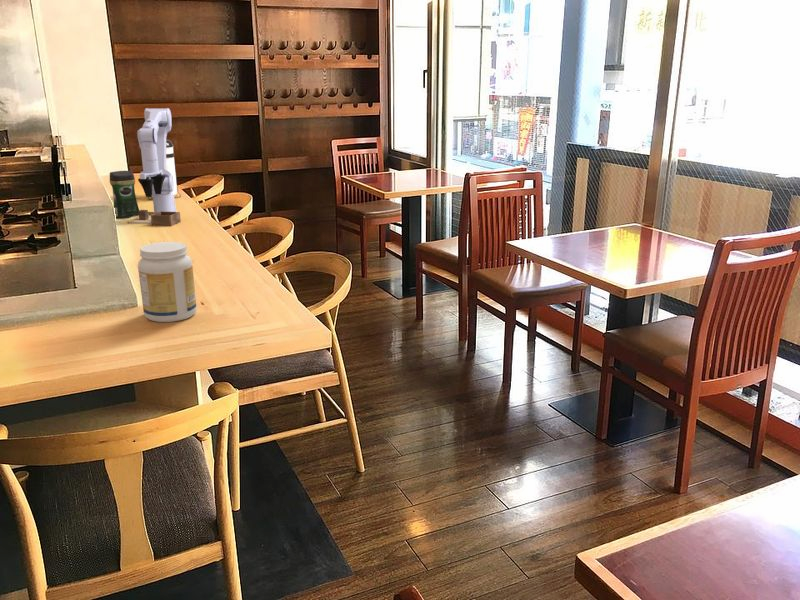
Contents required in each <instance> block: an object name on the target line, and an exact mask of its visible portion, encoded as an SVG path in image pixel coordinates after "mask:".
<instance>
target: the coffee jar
mask: <svg viewBox="0 0 800 600" xmlns="http://www.w3.org/2000/svg"><path fill="white" fill-rule="evenodd" d="M109 184H110V186H111V188H112V195H113V197H112V198H113V209H114V208H115V214H116V217H115V218H117V219H118V218H119V219H129V218H133V217H137V216H139V213H138V211H140V208H139V204H138V200H137V196H136V190H135V184H136V178H135V175H134V172H133V171H132V170H117V171H110V172H109Z"/></svg>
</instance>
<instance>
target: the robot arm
mask: <svg viewBox="0 0 800 600" xmlns="http://www.w3.org/2000/svg"><path fill="white" fill-rule="evenodd" d="M143 111H144V113H143V115H144V123H143V124H142V127H141V128H139V129H137V140H138V144H139V145H138V146H139V149H140V151H141V162H142V163H141V164H142V170H143V171H140V173H139V178H137V179H138V180H137V181H138V183H139V184H140V186H141V187H142V190H143V192H144V195H145V197H146V198H148V197H149V198H152V197H153V198H152V204H153V213H151V214H150V216H151V215H153V214H155V213H158V212H160V211H163V212H179V210H177V208H176V207H177V206H176V200H175V195H173V194H172V193H171V192H172V191H173V190H174V182H173V176H172V174H171V173H170V172H169V171H167V170H166V139H167V138H168V137H167V136H168V133H169V132H171V130H172V113H171V109H170V108H168V107H166V108H148V107H146V108H144V110H143Z"/></svg>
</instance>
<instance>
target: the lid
mask: <svg viewBox="0 0 800 600" xmlns="http://www.w3.org/2000/svg"><path fill="white" fill-rule="evenodd" d="M138 213H139V215H138V217H137V216H136V218H133V219H130V220H128V221H127V223H128V224H136V225H137V224H140V225H141V224H142V225H150V224H151V225H152V223H151V216H149V210H148V209H139V211H138Z"/></svg>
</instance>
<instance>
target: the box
mask: <svg viewBox="0 0 800 600" xmlns="http://www.w3.org/2000/svg"><path fill="white" fill-rule="evenodd" d="M152 214H153V213H152ZM150 217H151V226H152V227H153V226H155V227H158V226H159V227H174V226H175V225H178V224H179V223H181V222H182V221H181V212H180V211H178V212H163V211H160V212H158V213H155V214H153V215H150Z"/></svg>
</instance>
